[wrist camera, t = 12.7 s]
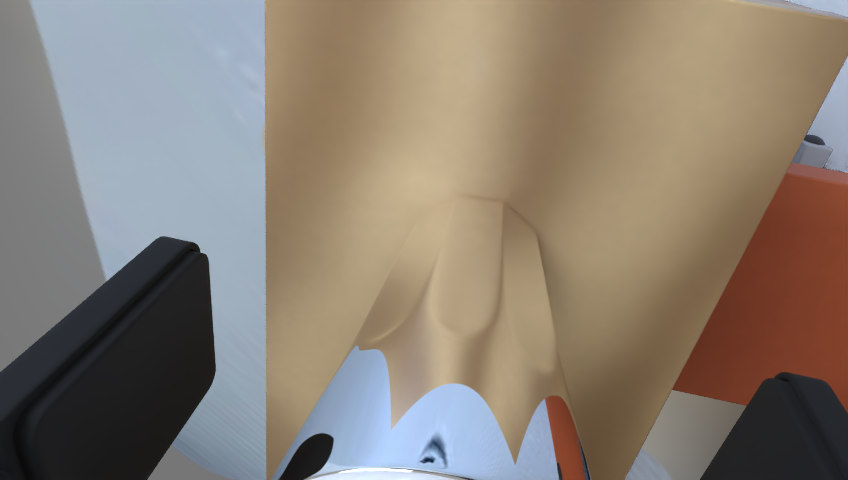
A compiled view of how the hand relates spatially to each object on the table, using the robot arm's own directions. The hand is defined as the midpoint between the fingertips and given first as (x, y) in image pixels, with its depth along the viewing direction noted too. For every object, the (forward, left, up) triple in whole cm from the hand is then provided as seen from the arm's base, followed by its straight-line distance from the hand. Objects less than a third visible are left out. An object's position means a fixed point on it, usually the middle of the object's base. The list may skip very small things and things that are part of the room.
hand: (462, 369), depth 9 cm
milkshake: (0, 0, -4) cm, 4 cm away
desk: (0, +3, -16) cm, 17 cm away
